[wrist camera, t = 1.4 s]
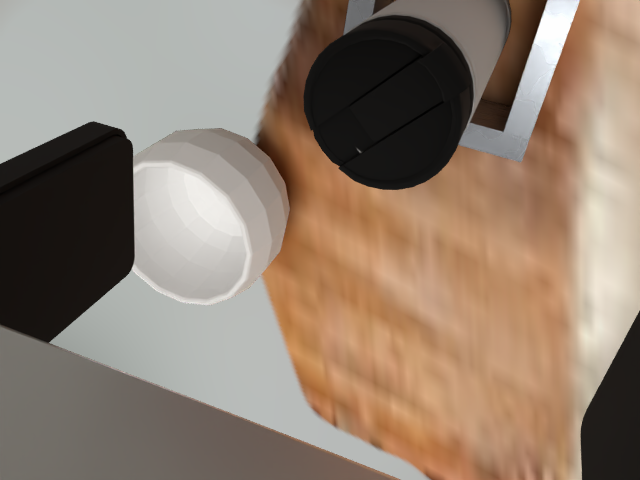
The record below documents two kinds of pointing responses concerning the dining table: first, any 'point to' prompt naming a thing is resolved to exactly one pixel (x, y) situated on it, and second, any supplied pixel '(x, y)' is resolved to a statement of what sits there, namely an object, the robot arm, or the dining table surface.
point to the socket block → (518, 120)
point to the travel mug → (404, 87)
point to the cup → (206, 214)
